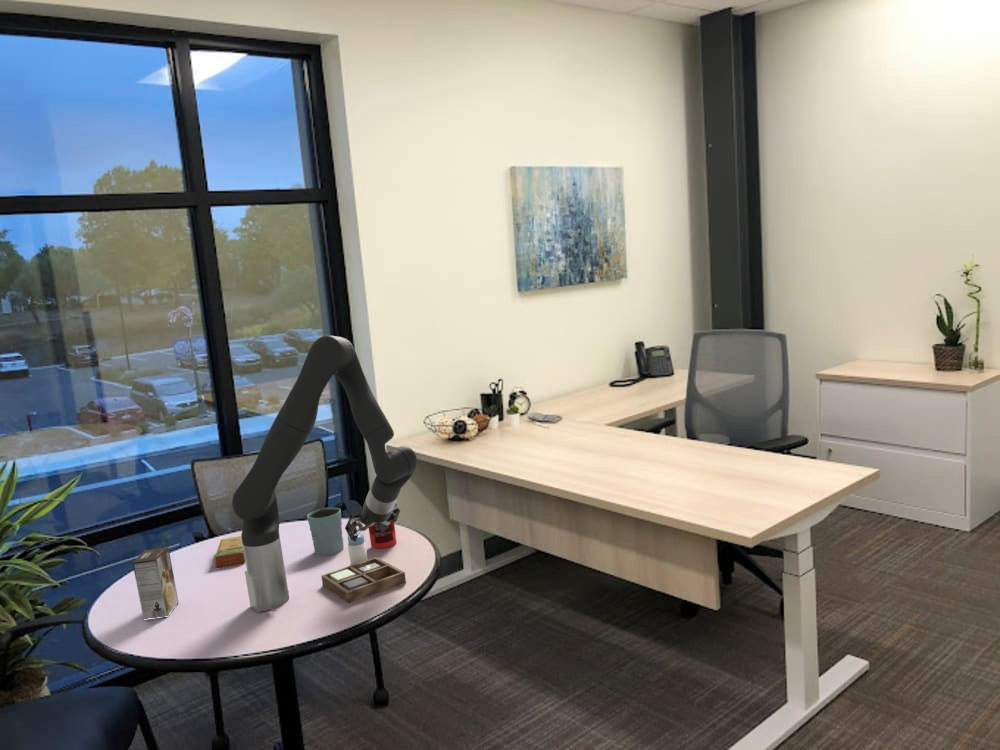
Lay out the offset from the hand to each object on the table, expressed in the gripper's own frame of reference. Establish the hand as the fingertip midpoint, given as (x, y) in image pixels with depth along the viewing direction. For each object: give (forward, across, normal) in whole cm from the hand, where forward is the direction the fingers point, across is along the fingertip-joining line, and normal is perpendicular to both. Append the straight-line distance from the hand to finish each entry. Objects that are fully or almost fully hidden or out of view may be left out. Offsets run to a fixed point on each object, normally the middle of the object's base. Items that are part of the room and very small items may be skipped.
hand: (367, 533), depth 218 cm
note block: (+7, +9, +9) cm, 14 cm away
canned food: (+22, -13, -5) cm, 26 cm away
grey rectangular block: (+7, +1, +9) cm, 11 cm away
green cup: (+30, 0, -12) cm, 32 cm away
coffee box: (+25, +50, -8) cm, 57 cm away
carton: (+44, +23, -26) cm, 56 cm away
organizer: (+5, +5, +12) cm, 14 cm away
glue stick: (+14, 0, +3) cm, 15 cm away
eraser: (+2, +9, +14) cm, 17 cm away
